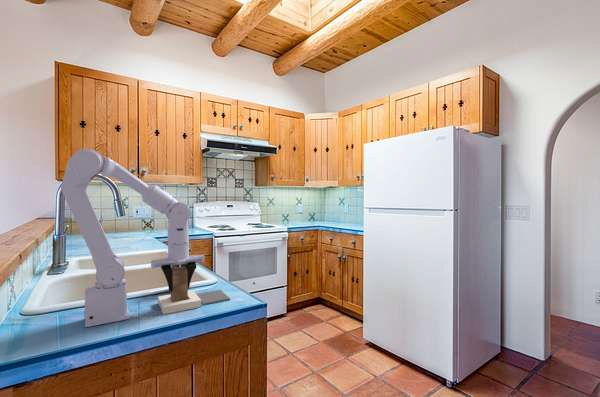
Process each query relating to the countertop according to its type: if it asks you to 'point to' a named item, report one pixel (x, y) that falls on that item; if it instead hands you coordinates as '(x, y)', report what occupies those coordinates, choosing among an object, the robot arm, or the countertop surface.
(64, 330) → the countertop surface
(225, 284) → the countertop surface
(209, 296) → the mat
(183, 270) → the peg
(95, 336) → the countertop surface
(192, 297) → the holder
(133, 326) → the countertop surface
